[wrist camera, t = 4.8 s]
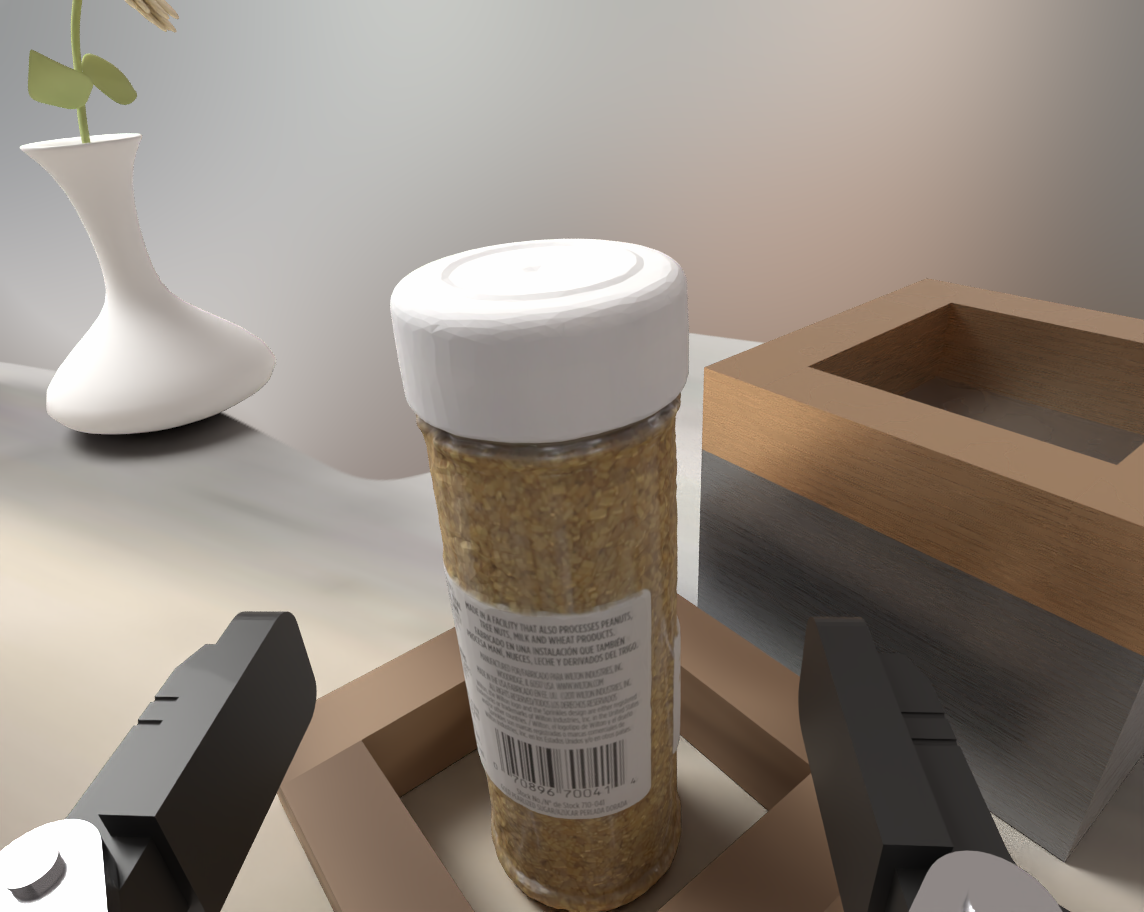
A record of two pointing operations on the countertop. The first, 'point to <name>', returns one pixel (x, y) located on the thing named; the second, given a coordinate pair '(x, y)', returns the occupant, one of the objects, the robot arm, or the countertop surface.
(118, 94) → the flower in vase
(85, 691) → the countertop surface
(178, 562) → the countertop surface
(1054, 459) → the grey wooden square box
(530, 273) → the seasoning jar
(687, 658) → the walnut stand
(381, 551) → the countertop surface
